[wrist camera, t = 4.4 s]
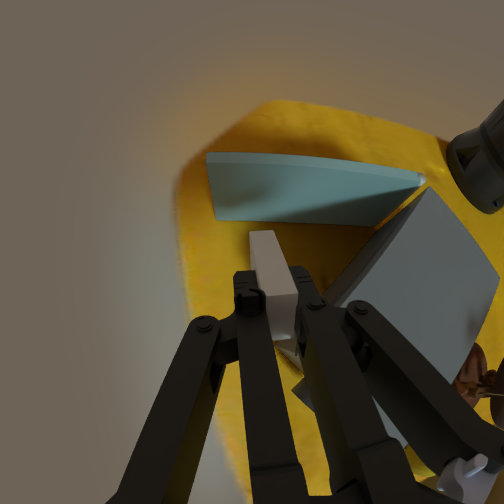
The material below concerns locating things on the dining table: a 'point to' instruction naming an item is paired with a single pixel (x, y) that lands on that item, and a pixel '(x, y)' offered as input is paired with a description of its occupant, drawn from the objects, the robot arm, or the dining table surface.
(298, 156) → the side door
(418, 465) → the lemon
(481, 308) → the case
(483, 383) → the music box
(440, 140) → the dining table surface
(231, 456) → the dining table surface
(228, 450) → the dining table surface
